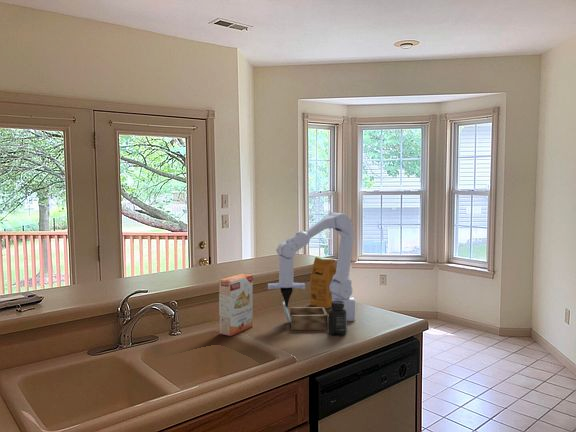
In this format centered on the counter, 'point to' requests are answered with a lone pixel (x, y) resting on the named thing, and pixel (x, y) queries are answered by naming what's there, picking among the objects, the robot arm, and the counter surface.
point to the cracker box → (235, 304)
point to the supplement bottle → (337, 319)
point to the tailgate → (286, 312)
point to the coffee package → (321, 282)
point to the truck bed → (308, 318)
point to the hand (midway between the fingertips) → (286, 306)
